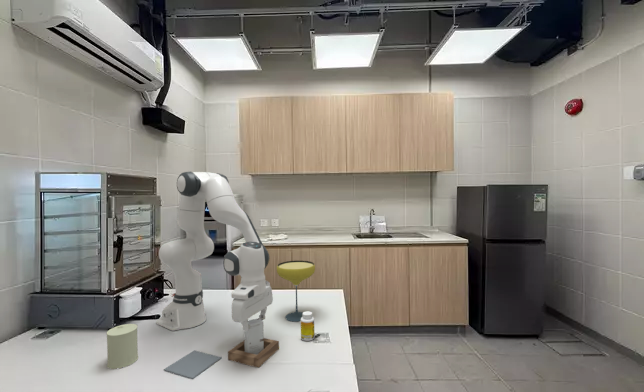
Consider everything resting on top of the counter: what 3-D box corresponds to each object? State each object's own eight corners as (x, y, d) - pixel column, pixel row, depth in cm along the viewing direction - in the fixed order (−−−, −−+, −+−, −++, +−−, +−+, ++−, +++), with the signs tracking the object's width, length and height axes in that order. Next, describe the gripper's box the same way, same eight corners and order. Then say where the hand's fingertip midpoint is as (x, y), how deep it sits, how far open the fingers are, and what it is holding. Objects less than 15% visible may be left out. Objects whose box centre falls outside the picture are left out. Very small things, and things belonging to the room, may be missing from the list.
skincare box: (248, 360, 104) (247, 325, 104) (244, 354, 108) (243, 321, 108) (264, 354, 108) (264, 321, 108) (260, 349, 112) (259, 317, 112)
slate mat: (163, 370, 99) (163, 369, 99) (194, 351, 111) (194, 350, 111) (192, 379, 94) (192, 378, 94) (221, 358, 106) (221, 357, 106)
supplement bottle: (314, 341, 117) (314, 315, 117) (300, 342, 117) (300, 316, 117) (314, 334, 122) (313, 310, 122) (300, 335, 122) (300, 310, 122)
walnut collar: (228, 360, 105) (227, 351, 105) (250, 342, 117) (250, 335, 117) (258, 367, 100) (258, 358, 100) (278, 349, 111) (278, 341, 111)
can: (132, 351, 111) (132, 320, 111) (142, 360, 105) (141, 326, 105) (103, 363, 104) (102, 329, 104) (111, 372, 98) (111, 336, 98)
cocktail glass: (291, 329, 128) (290, 271, 128) (270, 316, 142) (269, 264, 142) (323, 317, 139) (322, 264, 139) (301, 306, 153) (300, 258, 153)
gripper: (262, 278, 119) (263, 313, 119) (227, 294, 100) (229, 335, 100) (276, 279, 116) (277, 315, 116) (243, 296, 97) (244, 338, 97)
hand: (254, 324), depth 108 cm, fingers open, 8 cm apart
